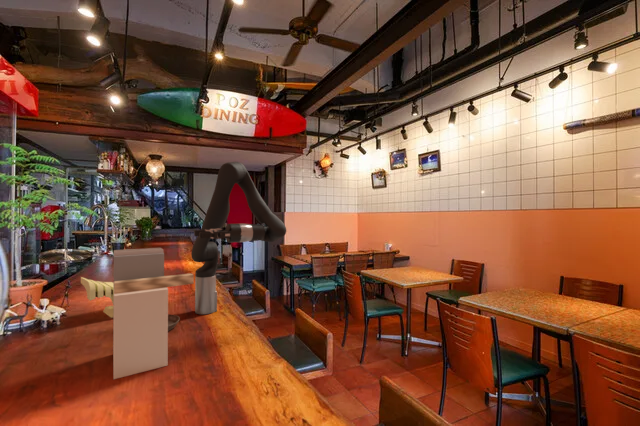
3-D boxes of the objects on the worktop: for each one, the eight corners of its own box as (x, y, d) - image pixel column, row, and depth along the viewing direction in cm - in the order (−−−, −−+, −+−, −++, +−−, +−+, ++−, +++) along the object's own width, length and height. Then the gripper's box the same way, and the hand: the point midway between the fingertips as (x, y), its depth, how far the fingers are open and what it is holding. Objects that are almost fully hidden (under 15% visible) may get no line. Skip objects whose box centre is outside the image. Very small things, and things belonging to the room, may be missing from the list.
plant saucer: (120, 332, 119) (120, 325, 119) (160, 318, 135) (160, 311, 135) (150, 341, 112) (150, 333, 111) (189, 325, 128) (189, 317, 127)
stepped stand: (160, 343, 109) (160, 247, 109) (167, 365, 94) (168, 253, 94) (113, 354, 101) (113, 249, 101) (113, 379, 86) (114, 257, 86)
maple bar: (191, 281, 104) (191, 273, 104) (193, 283, 101) (193, 274, 101) (114, 291, 91) (114, 281, 91) (114, 293, 88) (114, 283, 88)
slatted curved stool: (89, 325, 126) (90, 282, 125) (80, 316, 136) (80, 276, 136) (164, 307, 148) (164, 271, 148) (151, 301, 159) (152, 267, 159)
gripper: (233, 222, 128) (192, 223, 118) (245, 224, 116) (201, 225, 107) (233, 240, 128) (192, 242, 119) (245, 244, 116) (201, 246, 107)
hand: (197, 234), depth 113 cm, fingers open, 8 cm apart
